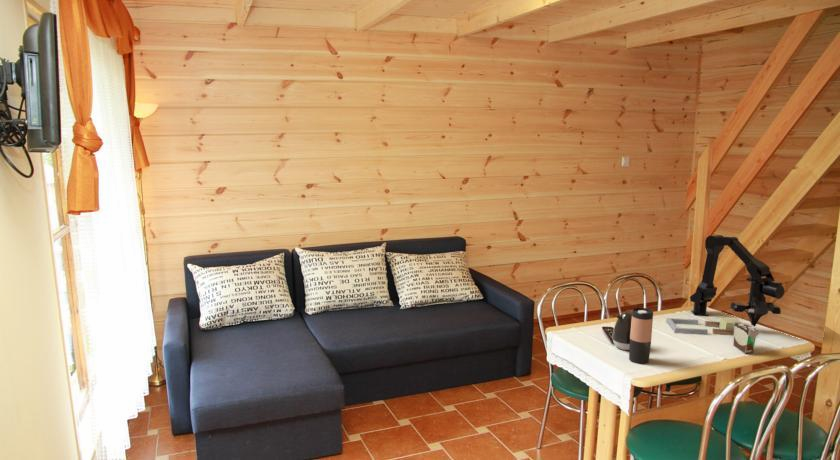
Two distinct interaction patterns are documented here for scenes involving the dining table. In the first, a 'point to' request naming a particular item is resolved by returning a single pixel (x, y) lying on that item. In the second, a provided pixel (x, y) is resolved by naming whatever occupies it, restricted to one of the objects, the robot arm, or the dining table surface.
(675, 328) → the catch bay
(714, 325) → the walnut chute
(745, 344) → the food container
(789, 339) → the dining table surface
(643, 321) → the travel mug
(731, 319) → the olive block
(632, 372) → the dining table surface
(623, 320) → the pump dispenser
